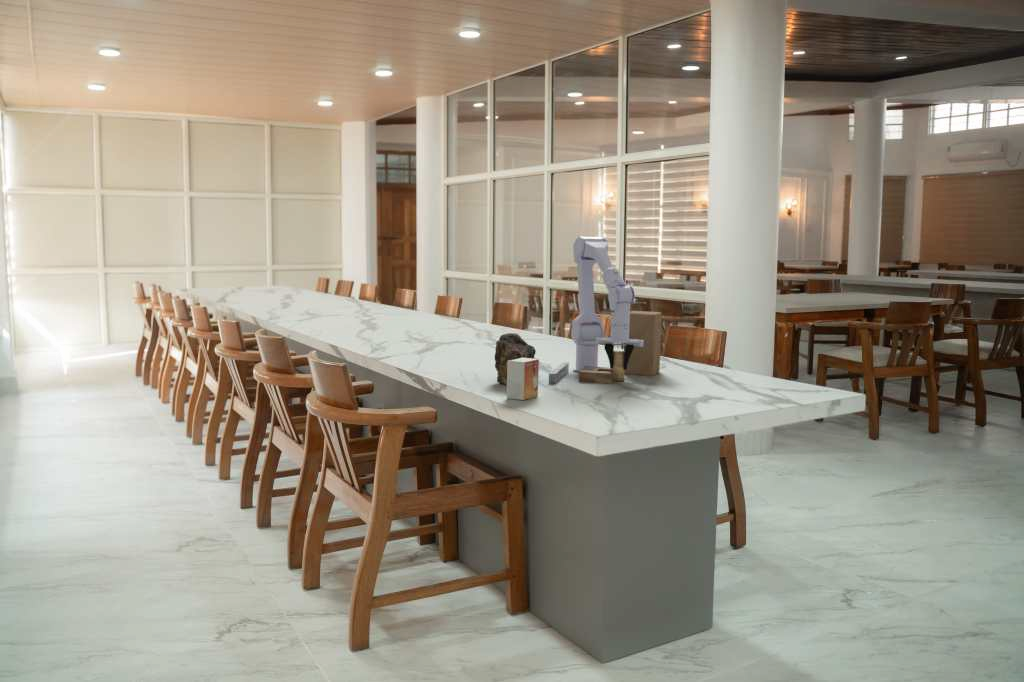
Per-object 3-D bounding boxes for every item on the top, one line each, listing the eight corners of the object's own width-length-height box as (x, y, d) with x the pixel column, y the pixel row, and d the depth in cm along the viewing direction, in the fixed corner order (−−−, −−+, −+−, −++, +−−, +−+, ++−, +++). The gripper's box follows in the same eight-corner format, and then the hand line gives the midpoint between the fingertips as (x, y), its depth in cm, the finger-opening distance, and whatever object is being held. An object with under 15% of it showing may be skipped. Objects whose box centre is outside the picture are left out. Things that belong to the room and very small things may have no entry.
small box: (523, 400, 229) (524, 362, 228) (506, 398, 232) (506, 360, 231) (538, 396, 236) (539, 358, 235) (521, 394, 239) (522, 357, 238)
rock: (513, 393, 249) (478, 377, 259) (542, 388, 258) (507, 373, 268) (521, 346, 246) (485, 332, 255) (550, 343, 255) (514, 329, 265)
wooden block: (622, 374, 277) (624, 312, 275) (630, 369, 287) (632, 310, 284) (652, 376, 274) (655, 314, 271) (659, 372, 283) (662, 312, 281)
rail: (562, 371, 280) (562, 362, 280) (568, 371, 280) (568, 362, 279) (548, 383, 257) (549, 373, 257) (555, 383, 256) (555, 374, 256)
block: (584, 375, 272) (584, 366, 272) (615, 377, 270) (616, 367, 270) (578, 381, 261) (579, 371, 260) (611, 383, 259) (611, 373, 258)
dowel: (613, 378, 266) (614, 350, 265) (624, 379, 265) (625, 350, 264) (611, 380, 263) (612, 351, 262) (623, 381, 262) (624, 352, 261)
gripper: (594, 325, 260) (593, 369, 261) (642, 327, 256) (641, 372, 258) (597, 323, 267) (596, 366, 268) (644, 325, 263) (643, 368, 265)
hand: (618, 368), depth 264 cm, fingers closed on dowel, 4 cm apart
